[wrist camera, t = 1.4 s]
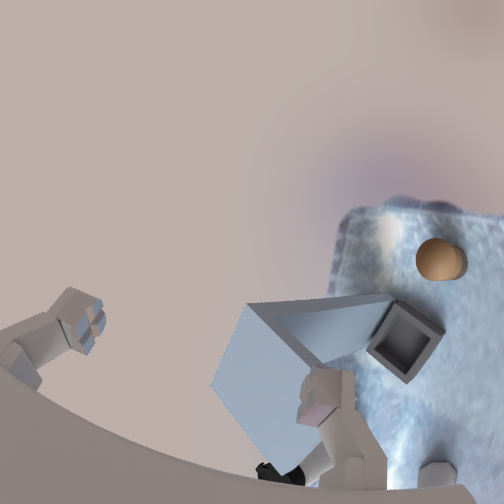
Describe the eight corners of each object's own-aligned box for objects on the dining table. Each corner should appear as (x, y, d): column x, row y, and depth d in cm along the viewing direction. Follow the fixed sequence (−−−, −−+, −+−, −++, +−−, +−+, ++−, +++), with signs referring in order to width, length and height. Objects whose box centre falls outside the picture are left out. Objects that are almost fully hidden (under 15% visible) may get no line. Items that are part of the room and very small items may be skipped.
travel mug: (348, 410, 46) (265, 455, 33) (373, 434, 42) (297, 491, 28) (330, 431, 48) (248, 475, 35) (353, 454, 44) (275, 507, 30)
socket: (445, 332, 36) (440, 336, 34) (414, 377, 39) (406, 384, 36) (402, 301, 42) (394, 303, 39) (375, 346, 44) (365, 350, 42)
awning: (444, 333, 36) (347, 403, 17) (407, 386, 39) (281, 475, 20) (387, 292, 44) (246, 303, 25) (356, 343, 47) (210, 385, 28)
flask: (422, 496, 32) (397, 531, 25) (413, 465, 35) (387, 498, 28) (461, 487, 27) (442, 525, 21) (452, 455, 31) (433, 490, 24)
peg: (472, 257, 34) (460, 250, 26) (458, 285, 35) (441, 288, 27) (447, 242, 37) (427, 230, 29) (434, 270, 38) (409, 267, 30)
